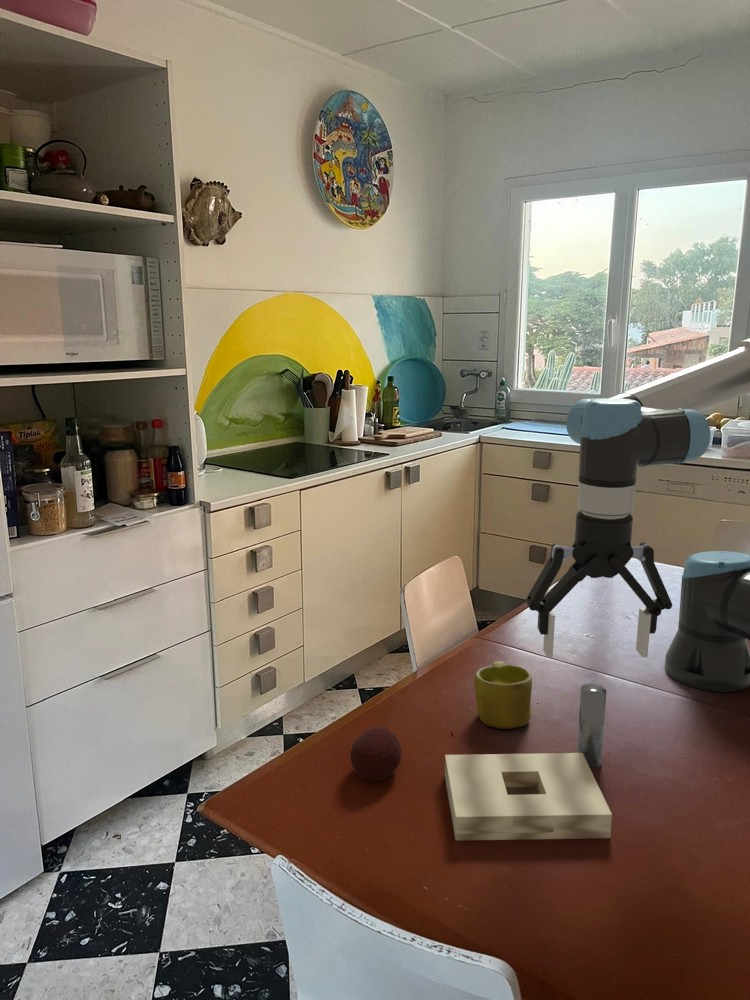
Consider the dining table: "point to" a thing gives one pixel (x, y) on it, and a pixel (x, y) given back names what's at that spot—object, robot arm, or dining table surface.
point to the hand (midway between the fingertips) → (594, 653)
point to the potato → (376, 754)
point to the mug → (503, 695)
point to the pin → (591, 723)
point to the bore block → (525, 797)
